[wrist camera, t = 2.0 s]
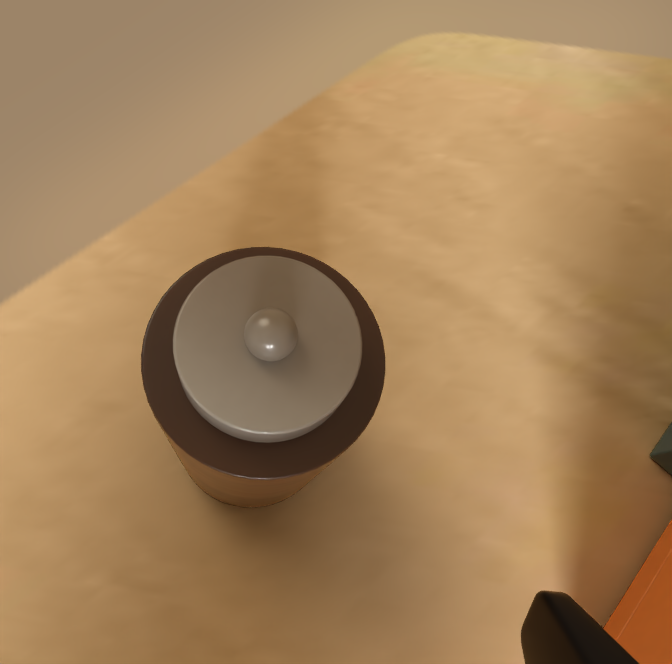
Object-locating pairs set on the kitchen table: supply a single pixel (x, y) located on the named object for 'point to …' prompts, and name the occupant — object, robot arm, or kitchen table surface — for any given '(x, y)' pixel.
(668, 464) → the cubby
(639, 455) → the kitchen table surface
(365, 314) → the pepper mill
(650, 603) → the drawer
